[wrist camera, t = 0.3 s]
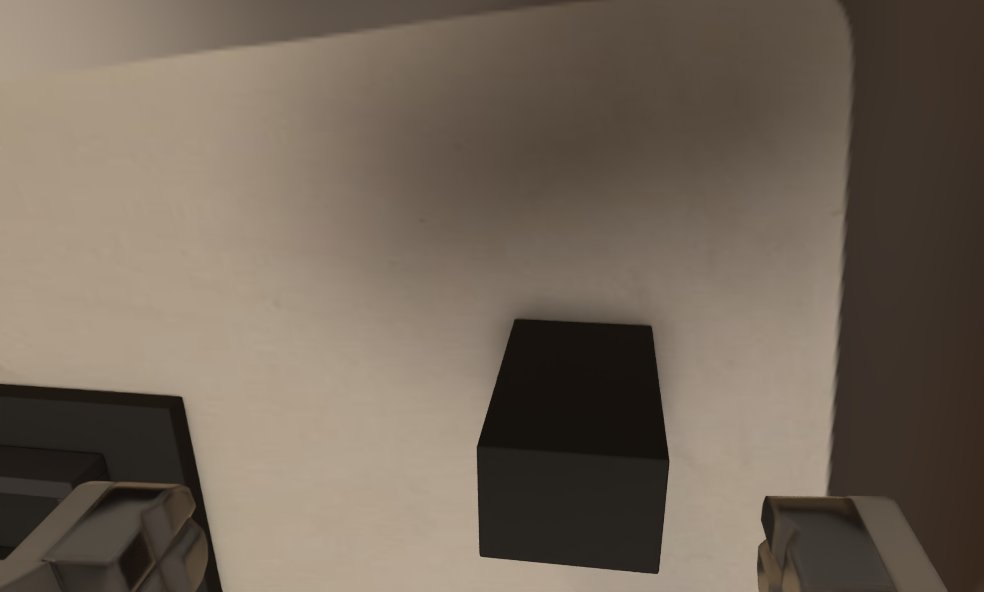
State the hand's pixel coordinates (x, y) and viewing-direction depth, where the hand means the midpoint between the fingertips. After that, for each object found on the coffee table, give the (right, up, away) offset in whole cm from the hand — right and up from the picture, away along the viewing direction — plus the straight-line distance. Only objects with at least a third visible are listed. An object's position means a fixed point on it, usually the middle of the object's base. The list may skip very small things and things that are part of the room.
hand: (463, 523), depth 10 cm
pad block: (+4, 0, +22) cm, 23 cm away
